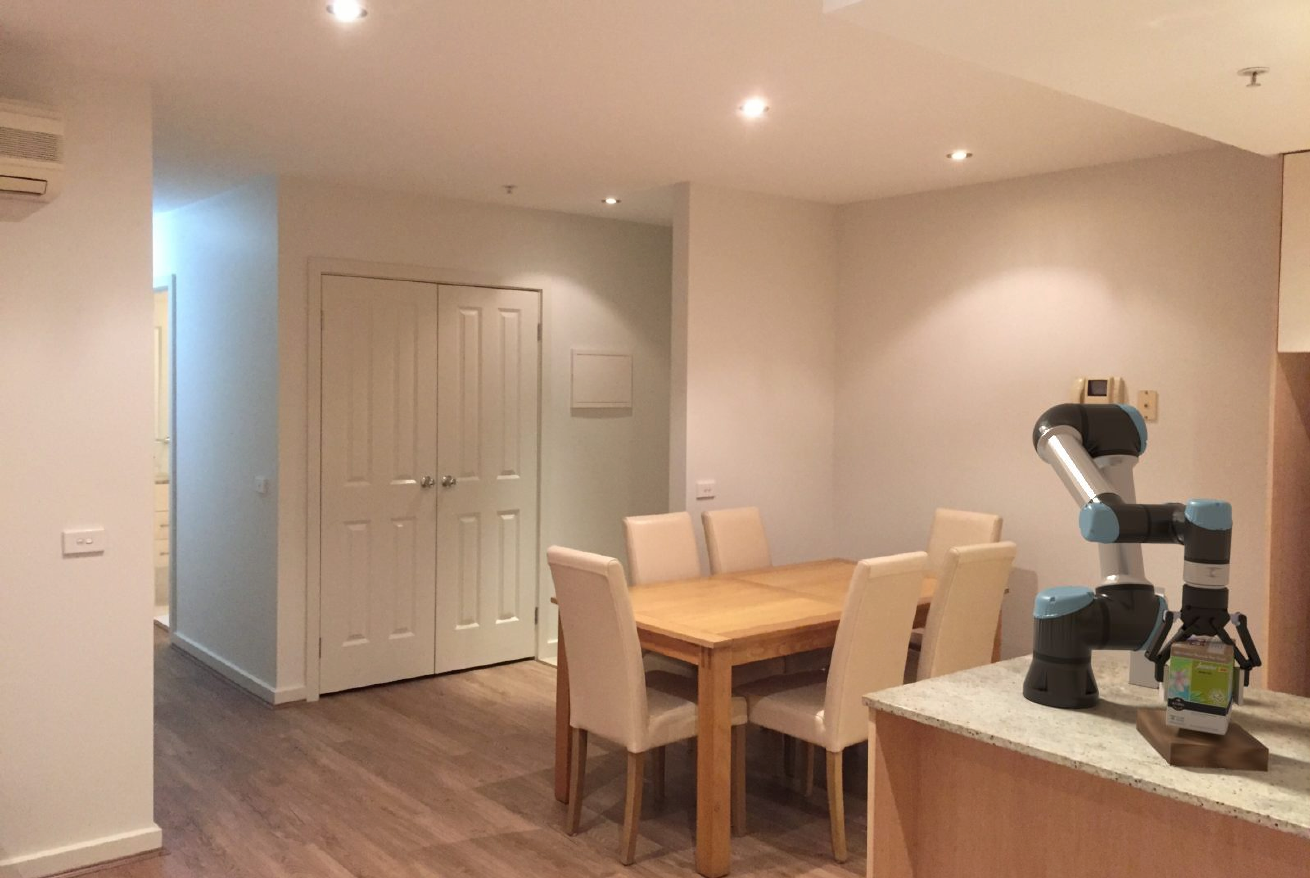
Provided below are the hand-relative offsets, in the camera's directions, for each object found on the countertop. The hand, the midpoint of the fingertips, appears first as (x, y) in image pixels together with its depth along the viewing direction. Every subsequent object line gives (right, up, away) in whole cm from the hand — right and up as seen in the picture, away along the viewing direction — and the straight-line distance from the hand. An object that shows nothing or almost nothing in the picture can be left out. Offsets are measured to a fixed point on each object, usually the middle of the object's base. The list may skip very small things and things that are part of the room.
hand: (1200, 701), depth 198 cm
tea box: (0, -4, 0) cm, 4 cm away
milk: (+10, -7, +44) cm, 46 cm away
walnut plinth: (0, -9, 0) cm, 9 cm away
